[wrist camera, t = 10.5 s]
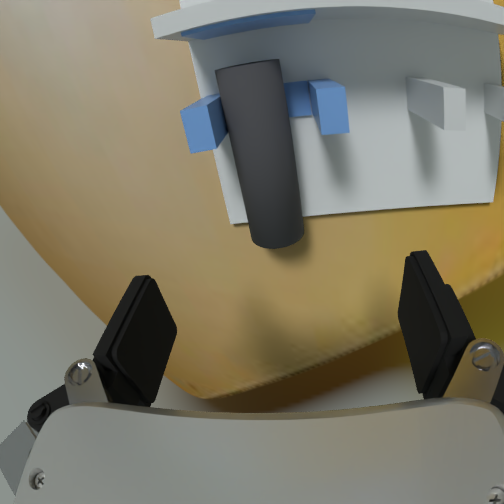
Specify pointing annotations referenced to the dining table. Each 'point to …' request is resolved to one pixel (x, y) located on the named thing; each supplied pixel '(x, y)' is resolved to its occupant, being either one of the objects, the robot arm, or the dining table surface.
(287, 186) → the cylinder
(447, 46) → the white holder rack
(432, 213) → the dining table surface
